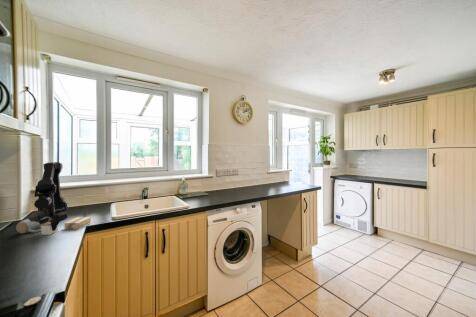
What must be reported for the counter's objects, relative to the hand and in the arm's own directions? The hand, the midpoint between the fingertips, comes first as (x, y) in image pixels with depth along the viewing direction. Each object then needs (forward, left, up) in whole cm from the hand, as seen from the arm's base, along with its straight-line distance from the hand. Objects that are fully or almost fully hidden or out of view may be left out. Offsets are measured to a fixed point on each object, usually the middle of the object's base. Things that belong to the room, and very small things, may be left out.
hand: (49, 230), depth 113 cm
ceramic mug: (-14, +2, -2) cm, 14 cm away
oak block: (+8, +10, -2) cm, 13 cm away
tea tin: (0, 0, -1) cm, 1 cm away
